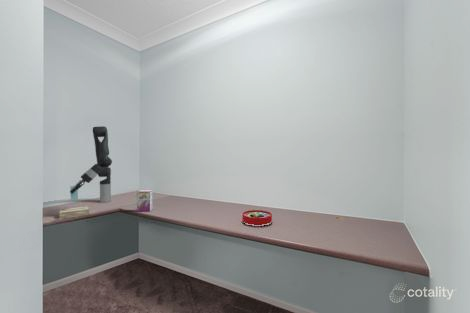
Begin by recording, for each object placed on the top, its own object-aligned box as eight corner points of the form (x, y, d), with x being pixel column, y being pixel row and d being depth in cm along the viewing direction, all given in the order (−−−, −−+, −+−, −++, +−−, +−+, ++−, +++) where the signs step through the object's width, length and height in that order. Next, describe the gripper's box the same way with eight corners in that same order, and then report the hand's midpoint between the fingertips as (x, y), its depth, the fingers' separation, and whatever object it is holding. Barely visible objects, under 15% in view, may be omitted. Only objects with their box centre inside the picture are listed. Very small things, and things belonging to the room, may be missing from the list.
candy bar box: (136, 211, 187) (136, 191, 186) (139, 209, 192) (139, 190, 191) (149, 211, 185) (149, 191, 185) (152, 210, 190) (152, 190, 190)
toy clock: (244, 209, 169) (272, 210, 166) (244, 217, 170) (272, 218, 166) (240, 217, 150) (271, 218, 146) (240, 226, 150) (271, 227, 146)
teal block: (70, 199, 178) (70, 186, 177) (77, 198, 180) (77, 185, 180) (70, 200, 174) (70, 186, 174) (77, 199, 177) (77, 186, 176)
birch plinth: (60, 214, 178) (60, 209, 178) (87, 210, 188) (87, 205, 188) (59, 218, 167) (59, 213, 166) (88, 214, 177) (88, 209, 177)
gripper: (84, 171, 187) (66, 188, 180) (85, 173, 175) (66, 190, 168) (92, 177, 190) (75, 194, 183) (94, 179, 178) (75, 196, 172)
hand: (71, 192), depth 176 cm, fingers closed on teal block, 4 cm apart
